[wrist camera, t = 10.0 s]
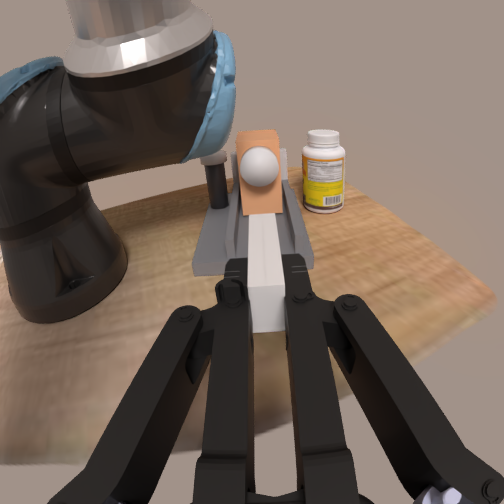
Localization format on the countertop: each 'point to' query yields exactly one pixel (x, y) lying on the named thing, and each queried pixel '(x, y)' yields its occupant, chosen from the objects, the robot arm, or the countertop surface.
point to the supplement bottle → (323, 172)
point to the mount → (237, 228)
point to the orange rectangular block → (259, 171)
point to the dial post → (216, 179)
